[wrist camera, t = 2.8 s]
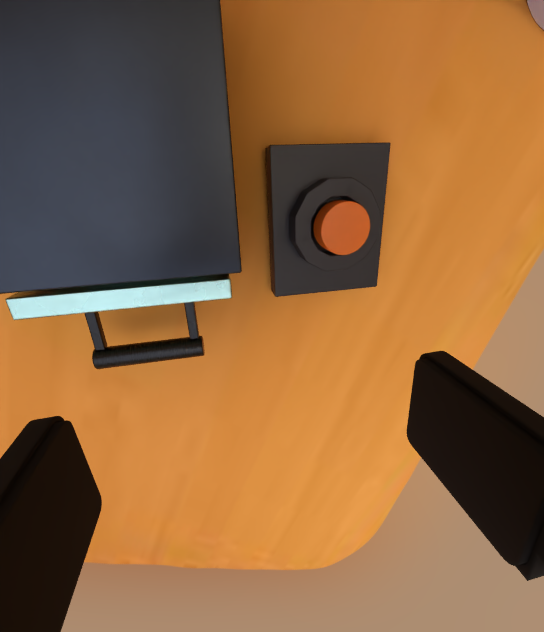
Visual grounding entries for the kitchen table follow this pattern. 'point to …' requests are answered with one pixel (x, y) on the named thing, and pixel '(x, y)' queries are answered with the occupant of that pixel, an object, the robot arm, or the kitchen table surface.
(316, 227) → the button
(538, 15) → the wedge on round base
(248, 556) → the kitchen table surface
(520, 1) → the kitchen table surface
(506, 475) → the robot arm
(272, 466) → the kitchen table surface
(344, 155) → the control block
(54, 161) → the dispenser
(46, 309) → the tray
